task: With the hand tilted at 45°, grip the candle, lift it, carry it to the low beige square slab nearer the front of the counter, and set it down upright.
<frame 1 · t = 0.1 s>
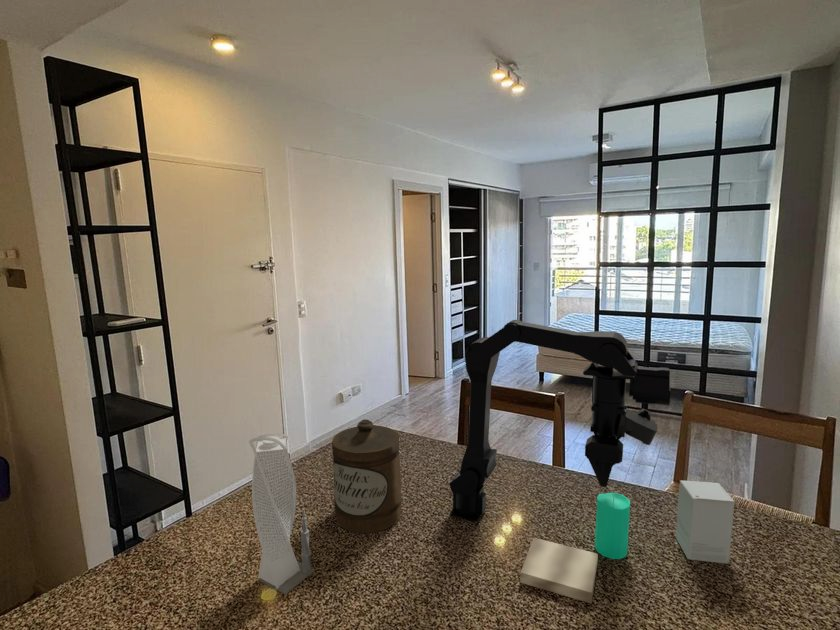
hand: (605, 475, 93), 15 cm above the counter, tool pointing down, fingers open, 9 cm apart
skyscraper: (281, 577, 87), on the counter
beige square slab: (559, 572, 87), on the counter
wooden container: (368, 515, 107), on the counter
supplement box: (701, 551, 93), on the counter
candle: (610, 550, 93), on the counter
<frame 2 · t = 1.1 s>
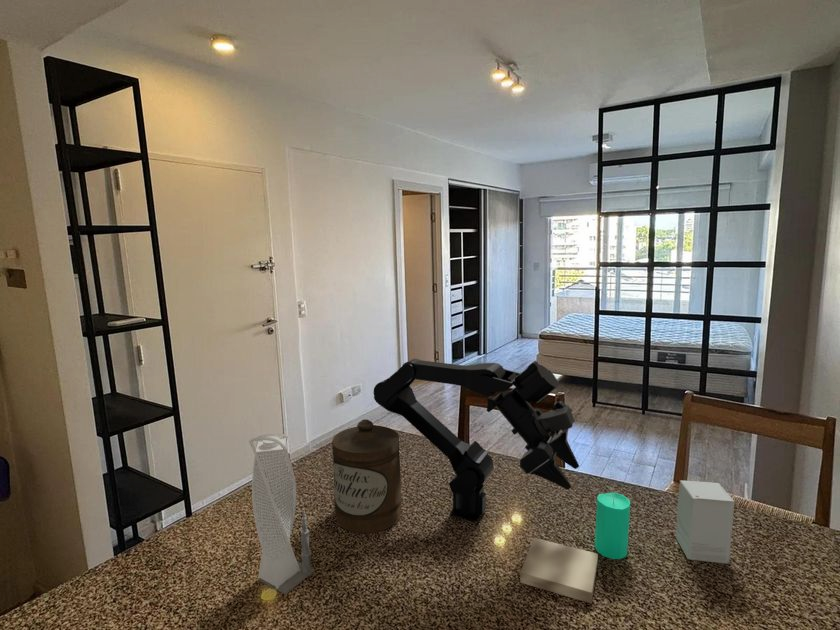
hand: (573, 477, 95), 13 cm above the counter, tool tilted 45°, fingers open, 9 cm apart
nothing on the counter moved.
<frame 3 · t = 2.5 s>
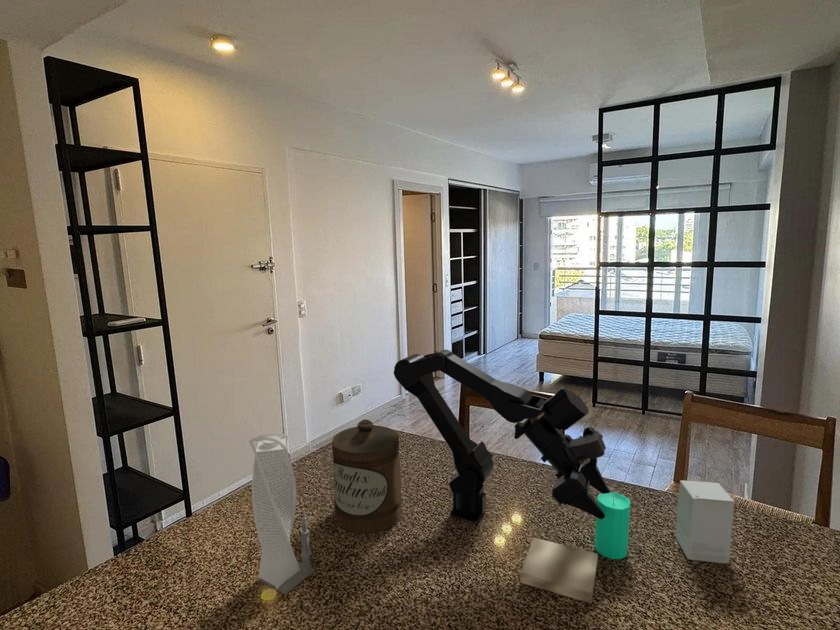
hand: (606, 505, 93), 9 cm above the counter, tool tilted 45°, fingers open, 9 cm apart
nothing on the counter moved.
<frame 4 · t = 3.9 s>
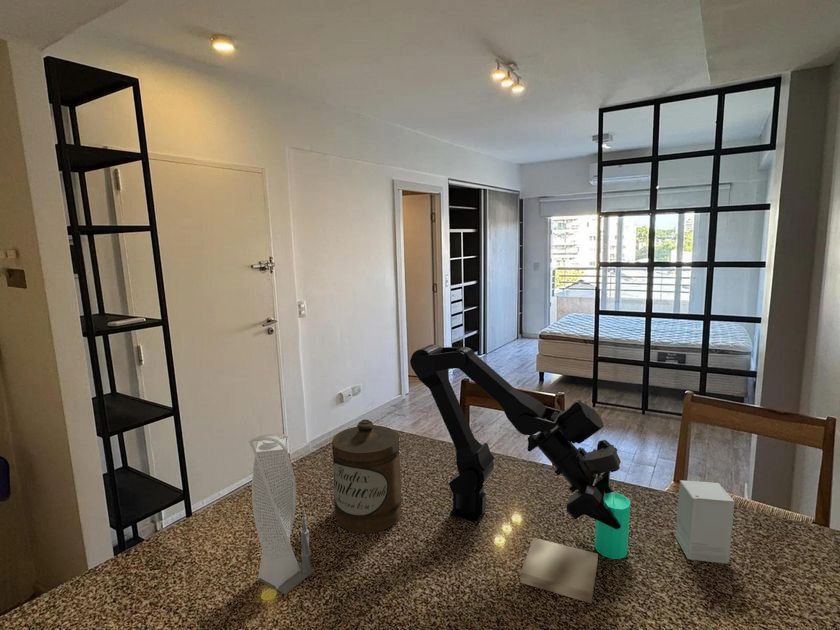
hand: (620, 520, 92), 7 cm above the counter, tool tilted 45°, fingers closed on candle, 5 cm apart
candle: (610, 550, 93), on the counter, touching gripper
everything else where it was.
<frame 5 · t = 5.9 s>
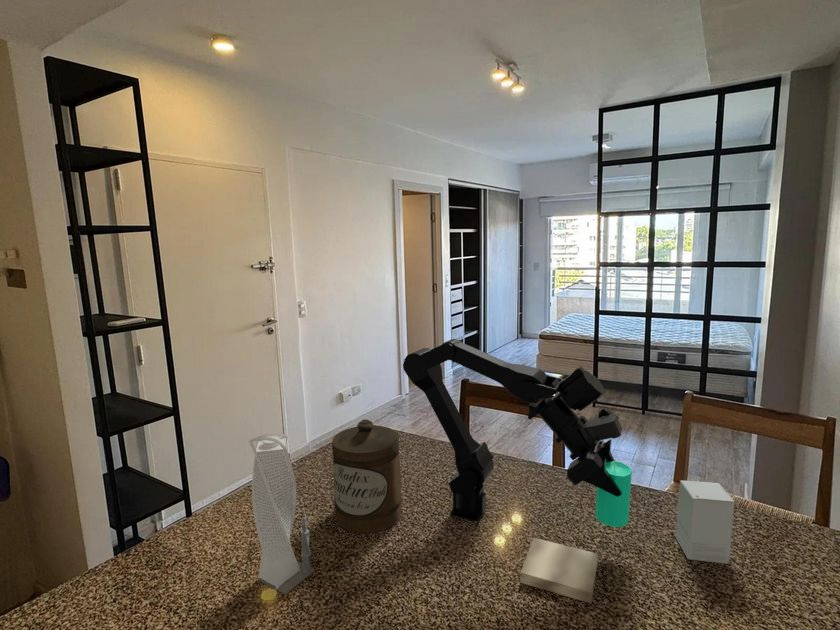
hand: (621, 488, 91), 13 cm above the counter, tool tilted 45°, fingers closed on candle, 5 cm apart
candle: (611, 519, 92), point 6 cm above the counter, touching gripper
everything else where it was.
when the fingers open (10 cm above the counter, at t = 8.4 s): candle stays where it is, resting on beige square slab.
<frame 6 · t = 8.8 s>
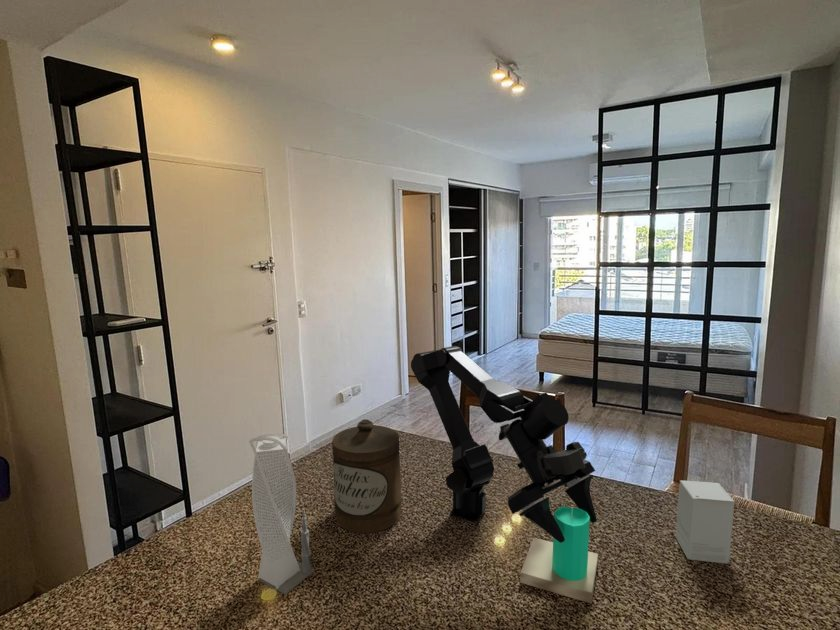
hand: (579, 531, 83), 10 cm above the counter, tool tilted 45°, fingers open, 9 cm apart
candle: (569, 570, 85), point 2 cm above the counter, touching beige square slab
everything else where it was.
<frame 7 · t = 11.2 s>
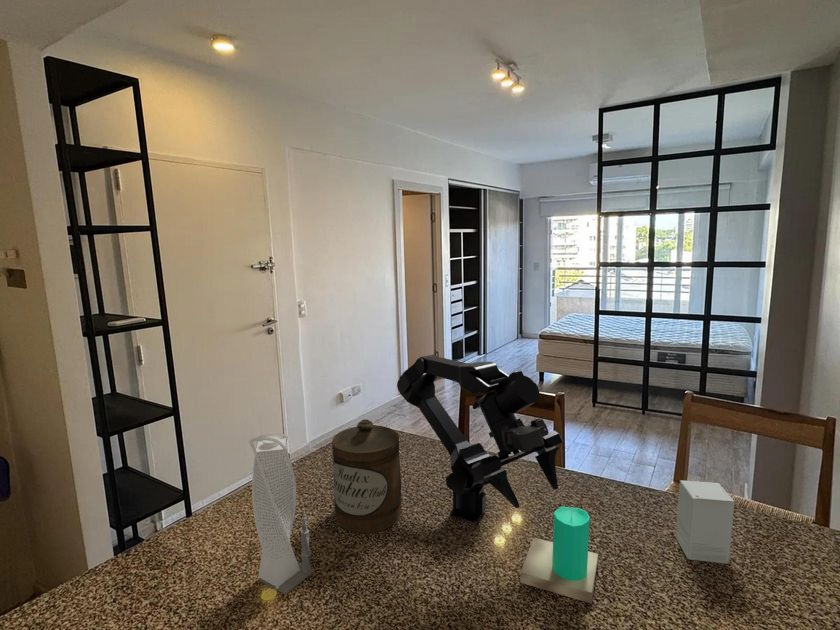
hand: (537, 498, 90), 12 cm above the counter, tool tilted 35°, fingers open, 9 cm apart
nothing on the counter moved.
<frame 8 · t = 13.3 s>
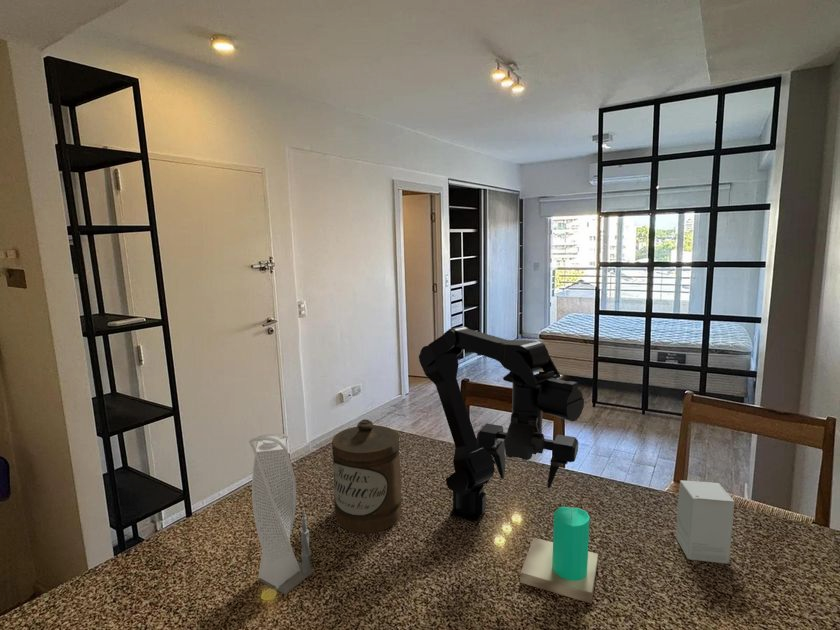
hand: (525, 482, 94), 13 cm above the counter, tool pointing down, fingers open, 9 cm apart
nothing on the counter moved.
at the end: candle inside the target area on the beige square slab (1.4 cm from its centre), point 1.8 cm above the beige square slab's base; candle tilted 0°; the gripper is holding nothing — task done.
